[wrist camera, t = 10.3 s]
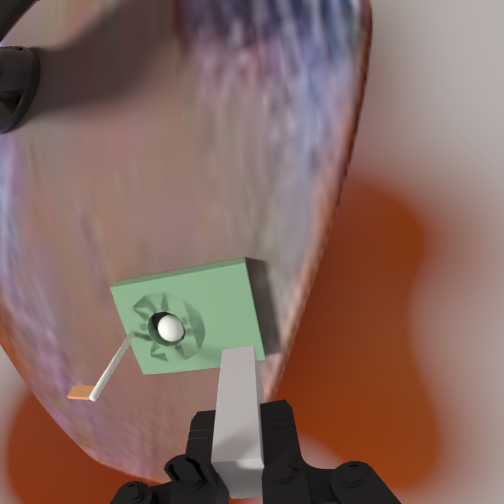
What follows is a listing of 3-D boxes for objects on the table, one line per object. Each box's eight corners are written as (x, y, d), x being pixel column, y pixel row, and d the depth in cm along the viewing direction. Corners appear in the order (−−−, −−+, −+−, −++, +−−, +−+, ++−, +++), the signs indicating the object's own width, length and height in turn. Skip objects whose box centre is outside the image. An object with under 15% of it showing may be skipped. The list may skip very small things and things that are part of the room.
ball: (157, 345, 37) (180, 347, 36) (149, 321, 36) (172, 322, 35) (170, 332, 40) (192, 333, 39) (163, 310, 39) (185, 309, 38)
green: (133, 366, 41) (96, 440, 25) (102, 284, 38) (37, 340, 22) (264, 349, 41) (274, 436, 25) (245, 257, 37) (246, 316, 21)
